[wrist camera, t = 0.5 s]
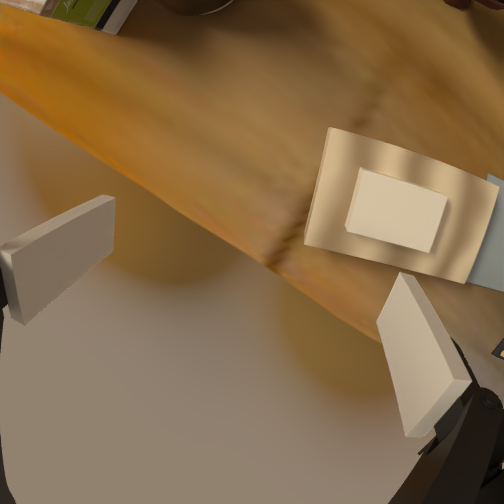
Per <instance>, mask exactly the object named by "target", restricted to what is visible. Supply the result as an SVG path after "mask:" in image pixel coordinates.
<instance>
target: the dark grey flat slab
mask: <svg viewBox="0 0 504 504" xmlns="http://www.w3.org/2000/svg"><path fill="white" fill-rule="evenodd" d="M491 354H493V355H495V356H496V357H498V358H501V359H503V360H504V338H503V339H502V341H501V342H500V343H499V345H498V346H497V347H496V348H495V350H494V351H493V352H492V353H491Z"/></svg>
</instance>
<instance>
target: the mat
mask: <svg viewBox="0 0 504 504" xmlns="http://www.w3.org/2000/svg"><path fill="white" fill-rule="evenodd" d="M486 181H488V182H490V183H492V184H494V185H497V186H499V191H498V195H497V198H496V201H495V205H494V208H493V211H492V214H491V217H490V220H489V223H488V226H487V229H486V232H485V235H484V238H483V240H482V243H481V246H480V248H479V251H478V253H477V256H476V258H475V261H474V263H473V266H472V268H471V271H470V273H469V275H468V278H467V280H466V282H469V283H473V284H476V285H480V286H484V287H488V288H491V289H495V290H498V291H502V292H504V181H503V180H501V179H499V178H497V177H495V176H492V175H490V174H488V175H487V179H486Z"/></svg>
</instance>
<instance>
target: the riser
mask: <svg viewBox="0 0 504 504" xmlns="http://www.w3.org/2000/svg"><path fill="white" fill-rule="evenodd" d="M360 167H362V168H366V169H369V170H373V171H376V172H380V173H383V174H386V175H390V176H393V177H396V178H399V179H402V180H406V181H409V182H412V183H415V184H418V185H421V186H424V187H427V188H430V189H433V190H435V191H438V192H441V193H442V194H444V195H446V196H448V198H447V201H446V204H445V208H444V211H443V214H442V217H441V220H440V223H439V226H438V229H437V232H436V235H435V238H434V241H433V243H432V246H431V249H430V251H429V253H427V252H423V251H420V250H416V249H412V248H409V247H405V246H401V245H398V244H394V243H390V242H386V241H382V240H379V239H375V238H371V237H367V236H363V235H359V234H355V233H351V232H347V230H346V227H345V223H346V219H347V215H348V212H349V208H350V204H351V201H352V197H353V193H354V189H355V185H356V181H357V177H358V173H359V169H360ZM498 191H499V186H497V185H494V184H492V183H490V182H488V181H486V180H484V179H481V178H479V177H477V176H474V175H472V174H470V173H467V172H465V171H463V170H460V169H458V168H455V167H453V166H450V165H448V164H445V163H443V162H440V161H437V160H435V159H432V158H429V157H427V156H424V155H421V154H418V153H415V152H413V151H410V150H407V149H404V148H401V147H398V146H394V145H391V144H388V143H385V142H382V141H378V140H375V139H372V138H368V137H365V136H361V135H358V134H354V133H350V132H347V131H343V130H339V129H335V128H328V132H327V137H326V142H325V146H324V151H323V155H322V160H321V164H320V169H319V173H318V178H317V182H316V186H315V191H314V195H313V199H312V203H311V208H310V212H309V216H308V220H307V224H306V228H305V235H304V244H305V245H309V246H313V247H318V248H322V249H326V250H330V251H334V252H339V253H343V254H347V255H351V256H355V257H359V258H364V259H368V260H372V261H376V262H380V263H384V264H388V265H392V266H396V267H400V268H404V269H408V270H412V271H416V272H420V273H424V274H428V275H432V276H436V277H439V278H443V279H447V280H451V281H455V282H459V283H463V284H465V282H466V280H467V278H468V275H469V273H470V271H471V268H472V266H473V263H474V261H475V258H476V256H477V253H478V251H479V248H480V246H481V243H482V240H483V238H484V235H485V232H486V229H487V226H488V223H489V220H490V217H491V214H492V211H493V208H494V205H495V201H496V198H497V195H498Z"/></svg>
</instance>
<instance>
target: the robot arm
mask: <svg viewBox="0 0 504 504" xmlns="http://www.w3.org/2000/svg"><path fill="white" fill-rule="evenodd" d="M115 202H116V198H115V197H111V196H107V195H101V196H98V197H96V198H94V199H92V200H90V201H88V202H86V203H84V204H81V205H79V206H77V207H75V208H73V209H71V210H69V211H66V212H65V213H62V214H60V215H58V216H56V217H54V218H52V219H50V220H48V221H47V222H44V223H43V224H41V225H39V226H37V227H35V228H33V229H31V230H29V231H27V232H26V233H24V234H22V235H20V236H19V237H17V238H15V239H13V240H11V241H9V242H8V243H6V244H4V245H3V246H1V247H0V349H1V339H2V329H3V320H4V314H3V310H2V309H3V307H5V306H6V305H7V304H8V306H9V310H10V314H11V318H13V319H14V320H16V321H18V322H20V323H21V324H23V325H26V324H27V323H28V322H29V321H30V320H32V319H33V317H35V316H36V315H37V314H38V313H39V312H40V311H42V310H43V309H44V308H45V307H46V306H47V305H48V304H50V303H51V302H52V301H53V300H54V299H55V298H57V297H58V296H59V295H60V294H61V293H62V292H64V291H65V290H66V289H67V288H68V287H69V286H71V285H72V284H73V283H74V282H75V281H77V280H78V279H79V278H80V277H82V276H83V275H84V274H85V273H86V272H88V271H89V270H90V269H91V268H92V267H94V266H95V265H96V264H98V263H99V262H100V261H101V260H103V259H104V258H105V257H106V256H108V255H109V254H110V253H112V252H113V248H114V221H115V204H116V203H115ZM376 323H377V327H378V330H379V333H380V337H381V340H382V344H383V347H384V351H385V354H386V358H387V362H388V365H389V369H390V372H391V377H392V380H393V384H394V389H395V392H396V397H397V401H398V405H399V410H400V414H401V419H402V423H403V428H404V433H405V437H424V436H425V435H426V434H427V433H428V432H429V431H430V430H431V429H432V428H433V427H434V428H435V431H436V436H435V437H434V438H433V439H432V440H431V441H430V442H429V443H428V444H427V445H426V446H425V447H424V448H423V449H422V450H421V451H420V452H418V454H419V455H420V454H421V453H423V454H422V456H421V457H420V459H419V460H418V462H417V464H416V465H415V466H414V468H413V470H412V471H411V473H410V474H409V476H408V477H407V478H406V480H405V481H404V483H403V484H402V486H401V487H400V489H399V490H398V491H397V492H396V494H395V495H394V497H393V498H392V499H391V500H390V502H389V503H388V504H504V469H502V463H503V462H504V409H503V405H502V403H501V400H500V399H499V398H498V396H497V395H496V394H495V393H494V392H492V391H491V390H489V389H487V388H483V387H481V388H480V386H479V384H478V382H477V380H476V378H475V376H474V374H473V372H472V370H471V368H470V366H469V365H468V362H467V360H466V358H465V357H464V354H463V352H462V351H461V349H460V347H459V346H458V345H457V343H456V342H455V341H454V340H453V339H452V338H451V337H450V336H449V335H448V333H447V331H446V329H445V327H444V326H443V324H442V322H441V320H440V318H439V317H438V315H437V313H436V311H435V310H434V308H433V306H432V305H431V303H430V301H429V300H428V298H427V296H426V295H425V293H424V291H423V290H422V288H421V287H420V285H419V283H418V282H417V280H416V279H415V277H414V276H412V275H409V274H405V273H402V272H399V275H398V277H397V279H396V281H395V284H394V286H393V288H392V290H391V292H390V295H389V297H388V299H387V301H386V303H385V305H384V307H383V309H382V311H381V313H380V315H379V317H378V319H377V321H376ZM0 504H16V503H15V500H14V498H13V496H12V494H11V493H10V491H9V489H8V486H7V483H6V478H5V471H4V465H3V457H2V448H1V437H0Z"/></svg>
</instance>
